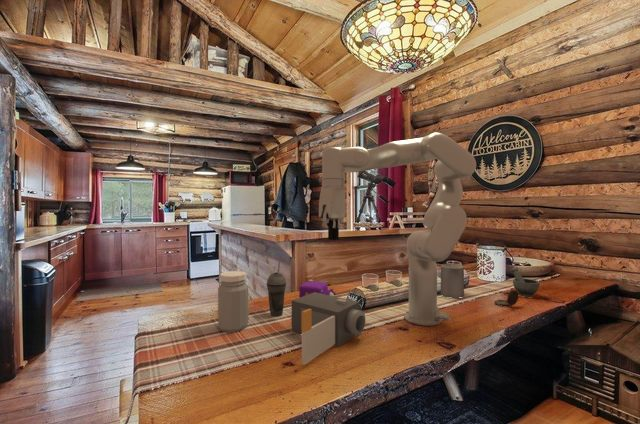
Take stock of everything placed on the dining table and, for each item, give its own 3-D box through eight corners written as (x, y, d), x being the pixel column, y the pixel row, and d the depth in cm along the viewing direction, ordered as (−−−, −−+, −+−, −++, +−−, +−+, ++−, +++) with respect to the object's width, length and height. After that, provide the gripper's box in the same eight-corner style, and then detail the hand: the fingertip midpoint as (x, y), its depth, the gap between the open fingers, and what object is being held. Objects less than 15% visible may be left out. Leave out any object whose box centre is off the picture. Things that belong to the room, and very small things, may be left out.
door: (332, 343, 86) (332, 298, 86) (335, 344, 86) (335, 298, 86) (301, 363, 75) (301, 311, 75) (304, 364, 74) (304, 312, 74)
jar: (211, 330, 98) (211, 275, 97) (230, 319, 107) (230, 269, 107) (237, 334, 94) (236, 277, 94) (254, 323, 103) (253, 271, 103)
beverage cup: (267, 311, 116) (267, 259, 115) (286, 310, 116) (286, 259, 116) (265, 318, 108) (265, 262, 108) (286, 317, 109) (285, 262, 109)
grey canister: (446, 291, 143) (446, 260, 143) (467, 295, 136) (467, 262, 136) (436, 295, 137) (436, 262, 136) (458, 300, 129) (458, 265, 129)
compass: (500, 301, 128) (500, 284, 128) (519, 307, 121) (519, 289, 121) (487, 304, 124) (488, 286, 124) (507, 310, 117) (507, 291, 117)
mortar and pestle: (543, 297, 134) (544, 270, 133) (531, 300, 129) (532, 272, 129) (517, 291, 144) (517, 266, 143) (505, 293, 139) (505, 268, 139)
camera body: (369, 336, 93) (369, 301, 93) (348, 350, 84) (348, 312, 84) (314, 320, 106) (314, 289, 106) (291, 331, 97) (291, 298, 97)
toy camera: (332, 312, 114) (332, 286, 114) (297, 310, 117) (297, 284, 117) (336, 304, 125) (336, 279, 125) (304, 301, 127) (304, 278, 127)
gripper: (336, 186, 109) (336, 237, 109) (310, 184, 97) (310, 241, 97) (354, 185, 105) (354, 238, 105) (329, 183, 93) (329, 242, 93)
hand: (333, 239), depth 101 cm, fingers closed
